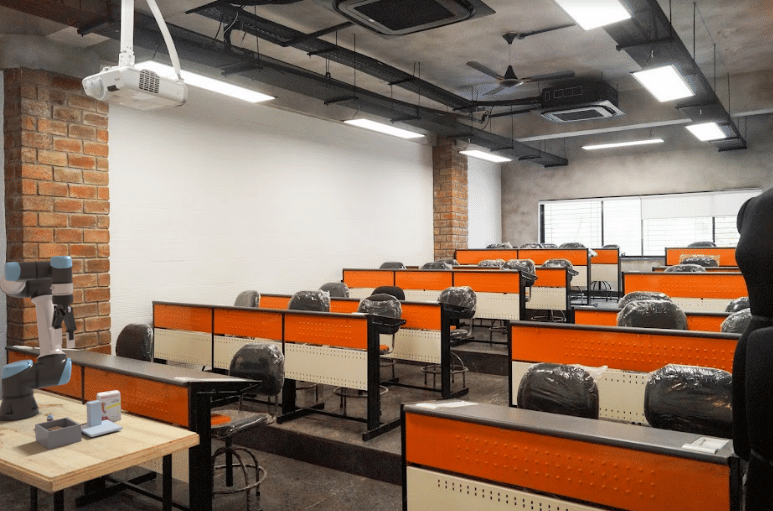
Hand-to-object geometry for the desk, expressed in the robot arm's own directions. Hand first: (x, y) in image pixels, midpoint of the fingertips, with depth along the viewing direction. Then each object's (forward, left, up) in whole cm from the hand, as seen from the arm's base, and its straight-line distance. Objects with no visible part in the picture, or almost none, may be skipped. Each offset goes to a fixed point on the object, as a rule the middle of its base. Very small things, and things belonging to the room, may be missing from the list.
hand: (64, 346), depth 231 cm
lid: (+19, +5, -33) cm, 38 cm away
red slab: (-1, -6, -33) cm, 34 cm away
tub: (+18, -10, -33) cm, 39 cm away
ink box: (+6, +14, -33) cm, 36 cm away
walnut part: (+15, -10, -32) cm, 37 cm away
